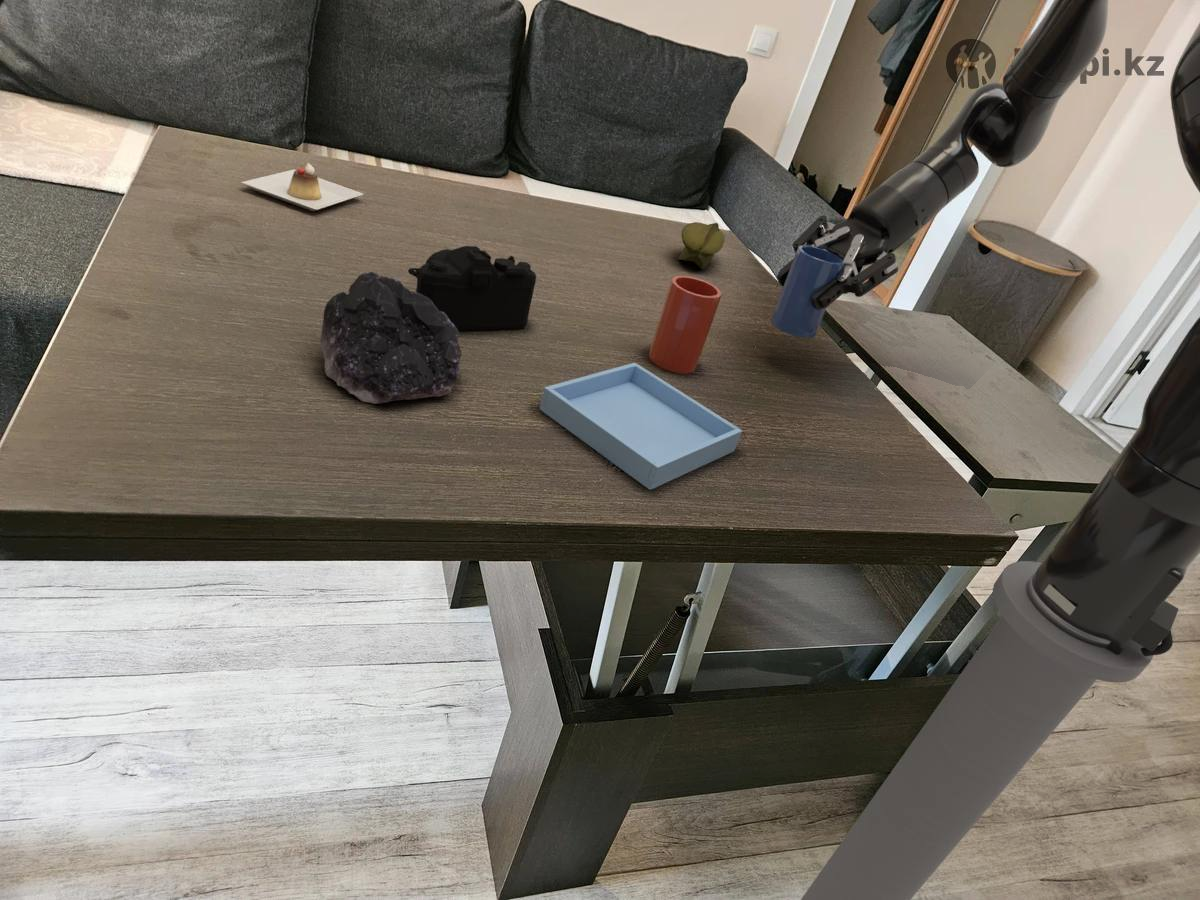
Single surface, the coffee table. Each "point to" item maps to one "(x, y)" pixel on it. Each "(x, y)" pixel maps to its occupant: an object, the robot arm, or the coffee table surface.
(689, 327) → the red cup
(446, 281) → the film camera
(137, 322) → the coffee table surface
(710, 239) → the fruit
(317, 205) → the dessert
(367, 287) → the crystal cluster
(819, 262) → the blue cup
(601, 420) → the tray
